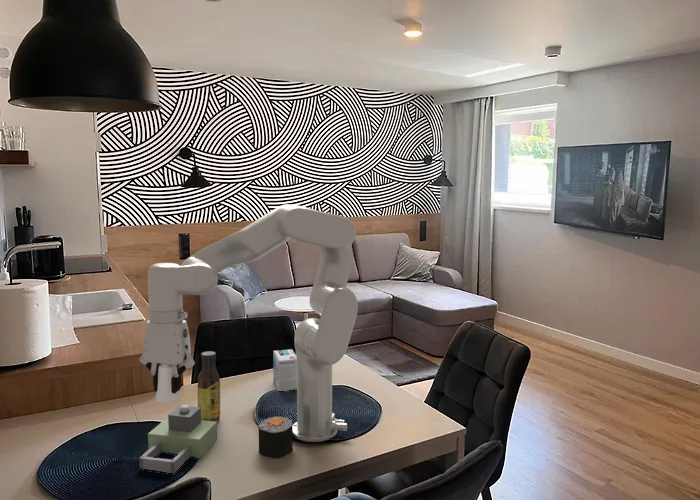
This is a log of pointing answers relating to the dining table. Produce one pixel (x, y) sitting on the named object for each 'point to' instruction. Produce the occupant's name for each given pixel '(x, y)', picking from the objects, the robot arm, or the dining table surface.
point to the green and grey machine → (179, 439)
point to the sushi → (275, 437)
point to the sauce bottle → (209, 388)
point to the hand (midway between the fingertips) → (167, 389)
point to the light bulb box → (285, 370)
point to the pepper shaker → (165, 385)
